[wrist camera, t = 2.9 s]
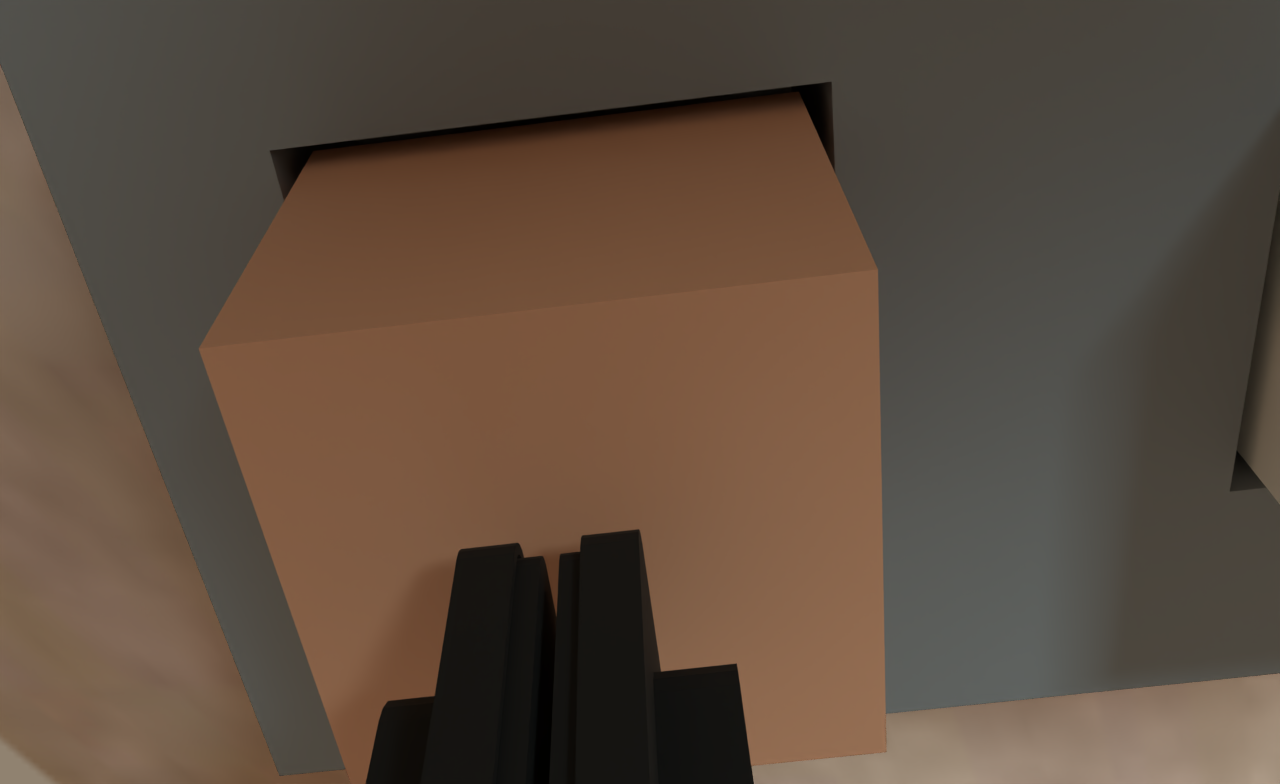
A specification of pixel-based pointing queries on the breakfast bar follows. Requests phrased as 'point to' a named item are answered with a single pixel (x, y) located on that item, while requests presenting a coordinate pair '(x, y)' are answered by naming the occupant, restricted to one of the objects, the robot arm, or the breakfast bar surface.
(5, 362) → the breakfast bar surface
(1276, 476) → the cream key
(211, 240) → the key panel
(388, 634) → the rust key
